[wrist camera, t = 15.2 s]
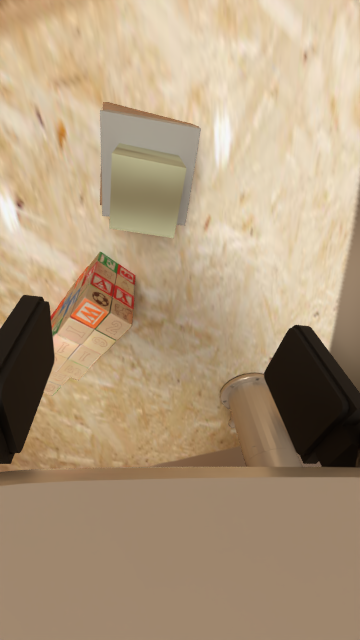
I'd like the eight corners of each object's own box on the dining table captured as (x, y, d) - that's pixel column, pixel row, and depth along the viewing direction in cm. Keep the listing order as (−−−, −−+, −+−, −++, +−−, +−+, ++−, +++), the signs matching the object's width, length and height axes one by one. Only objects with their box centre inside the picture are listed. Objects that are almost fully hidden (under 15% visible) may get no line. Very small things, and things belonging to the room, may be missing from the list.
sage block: (169, 214, 26) (173, 238, 22) (116, 205, 25) (109, 228, 21) (178, 155, 23) (186, 168, 19) (119, 142, 22) (111, 153, 18)
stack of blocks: (65, 354, 50) (46, 414, 40) (31, 339, 47) (2, 399, 37) (136, 274, 41) (133, 326, 31) (100, 249, 38) (84, 298, 28)
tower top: (180, 210, 31) (185, 225, 27) (108, 200, 30) (102, 215, 26) (192, 125, 26) (200, 128, 22) (107, 109, 25) (100, 110, 21)
